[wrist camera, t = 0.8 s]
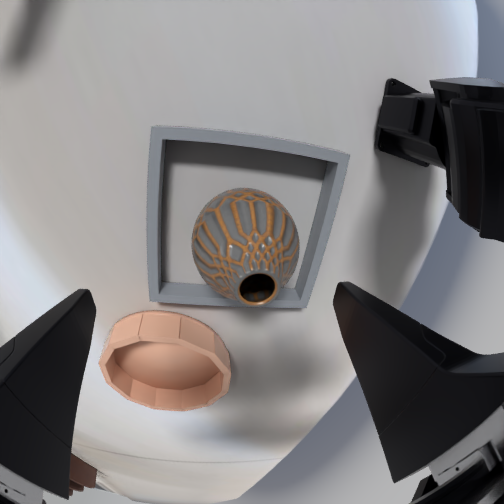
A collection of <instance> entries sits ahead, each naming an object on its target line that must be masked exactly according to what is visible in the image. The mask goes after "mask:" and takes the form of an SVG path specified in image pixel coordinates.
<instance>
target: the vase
mask: <svg viewBox="0 0 504 504" xmlns="http://www.w3.org/2000/svg"><path fill="white" fill-rule="evenodd" d="M192 253H193V258H194V262H195V264H196V267H197V269H198V271H199V273H200V275H201V276H202V278H203V279H204V280H205V282H206V283H207V284H208V285H209V286H210V287H211V288H212V289H213V290H214V291H216V292H217V293H219V294H220V295H222V296H224V297H226V298H229V299H232V300H236V301H238V302H239V303H241V304H242V305H244V306H247V307H252V308H258V307H263V306H266V305H268V304H270V303H271V302H273V301H274V300H275V299H276V298H277V296H278V295H279V293H280V291H281V288H282V287H283V286H284V285H285V284H286V283H287V282H288V281H289V279H290V278H291V276H292V274H293V273H294V271H295V268H296V266H297V262H298V258H299V237H298V232H297V228H296V225H295V223H294V221H293V219H292V217H291V215H290V214H289V212H288V211H287V210H286V208H285V207H284V206H283V205H282V204H281V203H280V202H279V201H278V200H276V199H275V198H274V197H272V196H271V195H269V194H267V193H265V192H262V191H259V190H256V189H250V188H237V189H232V190H228V191H226V192H223V193H221V194H219V195H217V196H216V197H214V198H213V199H212V200H211V201H210V202H208V203H207V205H206V206H205V207H204V208H203V209H202V211H201V212H200V214H199V216H198V218H197V220H196V223H195V225H194V229H193V234H192Z"/></svg>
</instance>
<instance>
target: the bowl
mask: <svg viewBox="0 0 504 504" xmlns="http://www.w3.org/2000/svg"><path fill="white" fill-rule="evenodd" d="M99 366H100V368H101V371H102V373H103V376H104V378H105V381H106V383H107V384H108V385H110V386H111V387H112V388H113V389H114V390H116V391H117V392H118V393H119V394H121V395H122V396H123V397H125V398H126V399H128V400H130V401H133V402H135V403H138V404H141V405H144V406H146V407H149V408H152V409H157V410H169V411H188V410H193V409H197V408H202V407H206V406H210V405H211V404H213V403H214V402H216V401H217V400H218V399H220V398H221V397H222V396H224V395H225V394H226V393H228V389H229V384H230V378H231V367H230V359H229V352H228V351H227V350H226V347H225V344H224V342H223V341H222V339H221V338H220V337H219V335H218V334H217V333H216V332H215V331H214V330H213V329H211V328H210V327H209V326H207V325H206V324H204V323H202V322H200V321H199V320H196V319H194V318H192V317H189V316H186V315H183V314H179V313H175V312H169V311H156V310H153V311H142V312H137V313H134V314H130V315H128V316H126V317H124V318H122V319H121V320H119V321H118V322H117V323H116V324H115V325H114V326H113V327H112V329H111V330H110V333H109V335H108V337H107V339H106V341H105V343H104V346H103V349H102V353H101V356H100V359H99Z"/></svg>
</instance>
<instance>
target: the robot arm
mask: <svg viewBox="0 0 504 504" xmlns="http://www.w3.org/2000/svg"><path fill="white" fill-rule="evenodd" d="M429 81H430V85H431V88H433V91H434V94H427V93H421V92H419V91H417V90H415V89H413V88H412V87H410V86H408V85H406V84H404V83H402V82H400V81H398V80H396V79H393V78H391V79H388V80H387V82H386V88H385V94H384V97H383V101H382V107H381V112H380V118H379V123H378V124H379V126H378V131H377V136H376V141H375V147H376V149H377V150H380V151H383V152H386V153H389V154H392V155H394V156H397V157H400V158H403V159H406V160H408V161H411V162H414V163H416V164H419V165H422V166H424V167H428V166H429V164H432V165H435V166H438V167H440V168H443V169H445V170H446V177H447V190H446V198H447V199H448V200H449V201H450V202H451V203H452V204H453V206H454V207H455V209H456V210H457V212H458V213H459V218H460V219H461V220H462V221H463V222H464V223H466V224H467V225H469V226H470V227H472V228H474V229H475V230H477V231H478V232H480V233H479V236H480V237H481V238H486V239H494V240H498V241H501V242H504V84H503V83H501V82H498V81H495V80H492V79H485V78H471V77H462V78H448V79H437V80H429ZM392 82H393V86H392V84H391V83H392ZM381 142H382V147H380V143H381ZM333 306H334V310H335V313H336V317H337V320H338V324H339V327H340V331H341V334H342V338H343V341H344V343H345V346H346V348H347V351H348V353H349V356H350V359H351V361H352V364H353V366H354V369H355V371H356V374H357V377H358V379H359V382H360V384H361V387H362V390H363V393H364V395H365V398H366V401H367V404H368V406H369V409H370V412H371V415H372V417H373V421H374V423H375V426H376V429H377V432H378V435H379V439H380V441H381V445H382V447H383V451H384V454H385V457H386V460H387V463H388V466H389V470H390V473H391V476H392V480H393V482H394V483H396V482H398V481H400V480H403V479H405V478H407V477H409V476H411V475H413V474H415V473H416V472H418V471H420V470H422V469H424V468H426V467H427V466H429V469H430V471H431V473H432V474H431V475H429V476H428V477H426V478H424V479H422V480H421V481H420V483H419V485H418V488H417V490H416V492H415V494H414V497H413V499H412V501H411V503H409V504H504V353H498V354H491V355H482V354H477V353H475V352H472V351H470V350H469V349H467V348H465V347H463V346H461V345H459V344H457V343H455V342H453V341H451V340H449V339H447V338H445V337H443V336H442V335H440V334H438V333H436V332H434V331H433V330H431V329H429V328H428V327H426V326H424V325H423V324H420V323H419V322H418V321H416V320H414V319H412V318H411V317H409V316H407V315H406V314H404V313H402V312H401V311H399V310H397V309H396V308H394V307H392V306H390V305H389V304H387V303H385V302H384V301H382V300H380V299H378V298H377V297H375V296H373V295H372V294H370V293H368V292H366V291H365V290H363V289H361V288H359V287H358V286H356V285H354V284H352V283H351V282H339V283H338V285H337V288H336V291H335V295H334V299H333ZM95 317H96V306H95V303H94V300H93V297H92V294H91V292H90V290H88V289H78V290H77V291H75V292H74V293H73V294H71V295H70V296H68V297H67V298H65V299H64V300H63V301H61V302H60V303H58V304H57V305H56V306H54V307H53V308H51V309H50V310H49V311H47V312H46V313H45V314H43V315H42V316H41V317H39V318H38V319H37V320H35V321H34V322H33V323H31V324H30V325H29V326H27V327H26V328H25V329H23V330H22V331H21V332H20V333H18V334H17V335H16V336H15V337H13V338H12V339H11V340H9V341H8V342H7V343H6V344H4V345H3V346H2V347H0V504H46V502H45V501H44V500H43V499H42V498H43V490H44V491H47V492H49V493H51V494H54V495H56V496H59V497H62V498H64V499H67V500H68V499H69V478H70V462H71V448H72V440H73V432H74V424H75V418H76V411H77V406H78V400H79V395H80V390H81V385H82V380H83V375H84V371H85V367H86V363H87V359H88V355H89V350H90V346H91V340H92V334H93V328H94V322H95Z"/></svg>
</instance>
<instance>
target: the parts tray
mask: <svg viewBox="0 0 504 504" xmlns="http://www.w3.org/2000/svg"><path fill="white" fill-rule="evenodd" d="M166 139H168V140H185V141H199V142H210V143H220V144H229V145H238V146H246V147H253V148H260V149H267V150H273V151H280V152H286V153H291V154H297V155H302V156H307V157H312V158H317V159H322V160H327V161H328V162H327V167H326V171H325V176H324V180H323V184H322V189H321V193H320V197H319V201H318V205H317V209H316V213H315V217H314V221H313V225H312V229H311V233H310V237H309V240H308V244H307V248H306V251H305V255H304V259H303V262H302V266H301V270H300V273H299V277H298V280H297V284H296V287H295V289H289V288H281V291H280V293H279V295H278V296H277V298H276V299H275V300H274V301H273V302H271V303H270V304H268V305H266V306H263V307H273V308H307V305H308V302H309V299H310V296H311V293H312V290H313V287H314V284H315V281H316V278H317V275H318V271H319V268H320V265H321V262H322V259H323V255H324V252H325V249H326V245H327V242H328V239H329V235H330V232H331V228H332V225H333V221H334V217H335V214H336V210H337V206H338V203H339V199H340V195H341V191H342V187H343V183H344V179H345V175H346V171H347V166H348V162H349V158H350V155H349V154H347V153H344V152H341V151H338V150H334V149H330V148H325V147H321V146H316V145H312V144H307V143H302V142H297V141H292V140H287V139H281V138H275V137H269V136H263V135H256V134H249V133H242V132H234V131H226V130H216V129H206V128H194V127H179V126H152V127H151V136H150V148H149V162H148V180H147V265H148V284H149V298H150V301H152V302H165V303H178V304H194V305H212V306H235V307H247V306H244V305H242V304H241V303H239V302H238V301H236V300H232V299H229V298H226V297H224V296H222V295H220V294H219V293H217V292H216V291H214V290H213V289H212V288H211V287H210V286H209V285H202V284H186V283H172V282H161V214H162V190H163V174H164V160H165V149H166Z"/></svg>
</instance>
